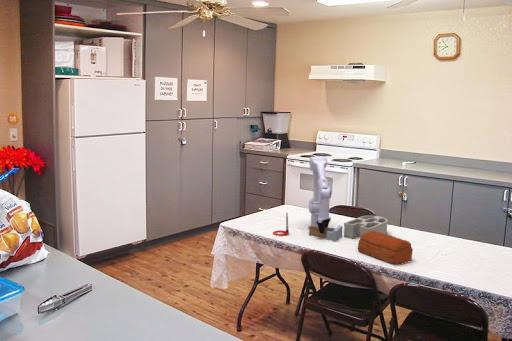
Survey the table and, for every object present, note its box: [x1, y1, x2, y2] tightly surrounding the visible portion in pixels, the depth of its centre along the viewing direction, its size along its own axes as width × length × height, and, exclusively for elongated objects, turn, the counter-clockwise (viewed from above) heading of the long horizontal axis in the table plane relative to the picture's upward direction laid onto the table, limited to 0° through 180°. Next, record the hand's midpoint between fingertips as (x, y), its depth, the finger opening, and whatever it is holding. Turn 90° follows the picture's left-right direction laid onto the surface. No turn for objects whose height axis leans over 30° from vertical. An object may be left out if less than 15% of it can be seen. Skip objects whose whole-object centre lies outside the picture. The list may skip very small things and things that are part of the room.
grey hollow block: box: [343, 215, 388, 239], centre depth 285 cm, size 17×28×9 cm, turn 138°
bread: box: [357, 231, 413, 265], centre depth 250 cm, size 16×27×11 cm, turn 36°
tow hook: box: [272, 212, 290, 237], centre depth 284 cm, size 8×13×9 cm
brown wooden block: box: [308, 224, 335, 239], centre depth 282 cm, size 4×14×5 cm, turn 63°
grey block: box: [326, 225, 344, 242], centre depth 278 cm, size 12×6×6 cm, turn 153°
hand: (323, 231), depth 281 cm, fingers open, 5 cm apart
